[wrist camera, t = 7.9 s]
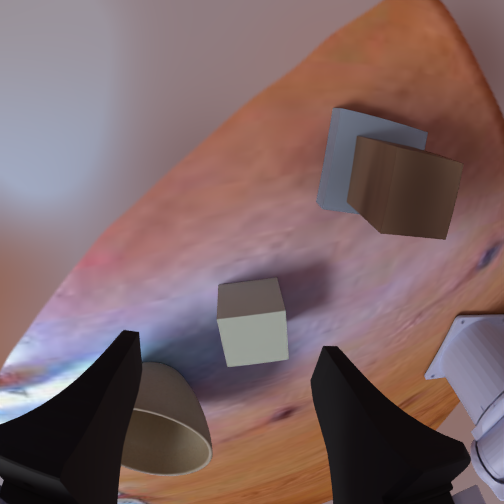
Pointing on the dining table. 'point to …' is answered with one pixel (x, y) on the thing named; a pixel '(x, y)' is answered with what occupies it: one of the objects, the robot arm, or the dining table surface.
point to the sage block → (252, 322)
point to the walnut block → (403, 188)
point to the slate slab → (343, 148)
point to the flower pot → (166, 426)
